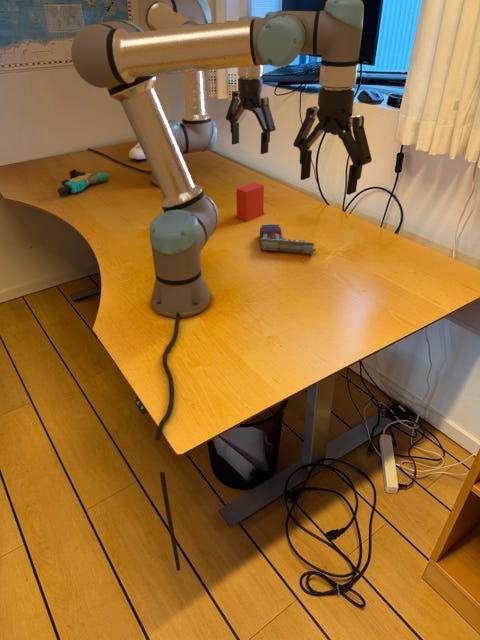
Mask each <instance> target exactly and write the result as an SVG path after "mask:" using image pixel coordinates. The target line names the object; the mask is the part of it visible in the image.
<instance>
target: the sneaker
mask: <svg viewBox="0 0 480 640" xmlns="http://www.w3.org/2000/svg"><path fill="white" fill-rule="evenodd" d="M128 156H129V157H128V158H129V159H132V160H138V161H139V160H147V159H146V157H145V155H144V153H143V151H142V148H141V146H140V144H139V142H137V143H136V144H135V146H133V148H131V149H130V151H129V152H128Z"/></svg>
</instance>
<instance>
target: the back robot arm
mask: <svg viewBox="0 0 480 640" xmlns="http://www.w3.org/2000/svg"><path fill="white" fill-rule="evenodd" d="M144 8H145V9H144V13H143V15H144V17H143V18H144V22H145V24H146V26H147V28H148V29H149V31H154V30H163V29H172V28H181V27H189V26H198V25H207V24H215V23H216V22H212V14H211V9H210V6H209V3H208V1H207V0H149V2H148V3H147V4H146V6H145V7H144ZM258 18H262V17H261V16H256V15H245V16H240V17H238V20H237V21H242V20H250V19H258ZM233 21H234V20H226V21H225V22H233ZM263 70H264V65H262V66H259V65H258V66H247V67H237V76H238V78H237V90H234V91H232V93H231V100H230V103H229V107H228V109H227V113H226V115H225V120H226V121H228V122H229V124H230V133H231V145H232V146H235V145H238V144H240V122H239V119H240V118H241V116H242V115H243V113H244V111H250V112H252V114H254V116H255V117H256V120H257V122H258V124H259V127H260V128H261V131H262V132H260V155H264V154H267V153H269V144H270V142H271V133H272V132H275V131H276V130H277V128H276V125H275V121H274V118H273V114H272V111H271V108H270V99H269V97H268V96H266V97H262V96H261V94H262V92H263V86H264V85H263V82H264V81H263V75H264V72H263ZM181 76H182V78H181V79H182V89H183V90H182V91H183V101H184V114H183V115H182V117H181V122H179V121H178V120H177V119H167V120H168V123H169V125H170V127H171V130H172V132H173V135H174V137H175V139H176V142H177V144H178V147H179V149H180V151H181V154H182V155H187V154H192V153H193V154H194V153H200V152H201V153H203V152H205V151H210V150H213V149H214V148H215V146H216V144H217V141H218V127H217V124H216V121H215V120H213V119H212V116H211V114H210V113H208V109H207V93H206V77H205V71H194V72H184V73H181ZM87 150H88V151H91V152H94V153H97V154H99V155H102V156H104V157H106V158H108V159H110V160H112V161H114V162H116V163H118V164H121V165H122V166H124V167H125V166H126V167H128V168H131V169H132V170H136V171H139V172H143V173H150V174H151V177H150V179H151V180H150V181H151V184H152V185H153V186H155V187H158V188H159V186H158V183H157V181H156V179H155V177H154V175H153V173H152V170H146V169H142V168H138V167H136V166H133V165H130V164H126V163H124V162H122V161H121V160H118V159H115V158H113V157H111V156H109V155H107V154H105V153H103V152H101V151H98V150H96V149H94V148H90V147H88V148H87Z"/></svg>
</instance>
